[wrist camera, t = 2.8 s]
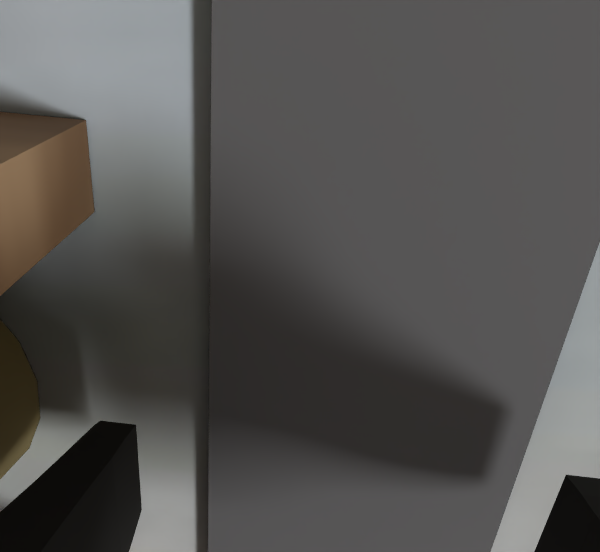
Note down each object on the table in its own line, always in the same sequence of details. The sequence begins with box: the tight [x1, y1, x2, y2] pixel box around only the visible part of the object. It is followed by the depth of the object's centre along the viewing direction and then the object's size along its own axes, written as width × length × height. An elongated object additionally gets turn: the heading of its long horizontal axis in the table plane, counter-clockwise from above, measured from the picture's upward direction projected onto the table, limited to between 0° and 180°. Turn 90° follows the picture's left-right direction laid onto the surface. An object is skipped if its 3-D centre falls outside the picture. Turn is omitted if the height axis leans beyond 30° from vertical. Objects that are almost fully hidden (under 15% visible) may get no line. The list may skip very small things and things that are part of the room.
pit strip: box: [208, 0, 600, 552], centre depth 11 cm, size 18×6×1 cm, turn 176°
